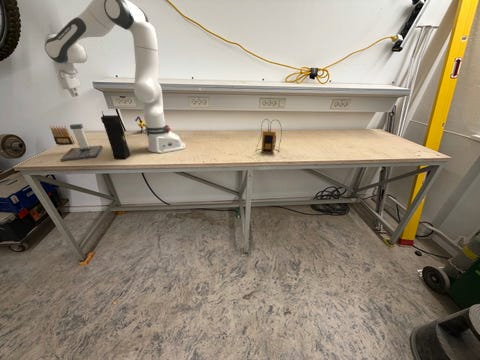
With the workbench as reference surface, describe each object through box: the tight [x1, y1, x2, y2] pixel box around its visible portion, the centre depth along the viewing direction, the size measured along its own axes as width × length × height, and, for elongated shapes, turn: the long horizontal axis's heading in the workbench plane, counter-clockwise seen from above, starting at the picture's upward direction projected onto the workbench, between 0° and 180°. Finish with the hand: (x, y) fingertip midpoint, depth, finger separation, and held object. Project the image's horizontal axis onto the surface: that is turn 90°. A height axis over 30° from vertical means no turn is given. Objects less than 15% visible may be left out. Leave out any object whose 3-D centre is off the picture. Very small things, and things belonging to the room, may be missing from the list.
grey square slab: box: [59, 144, 104, 163], centre depth 114 cm, size 16×18×2 cm
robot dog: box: [134, 115, 146, 134], centre depth 151 cm, size 6×18×13 cm, turn 176°
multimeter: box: [255, 118, 283, 154], centre depth 118 cm, size 15×10×20 cm
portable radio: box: [100, 111, 131, 160], centre depth 105 cm, size 8×6×25 cm
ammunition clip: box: [49, 125, 75, 146], centre depth 126 cm, size 11×2×12 cm, turn 91°
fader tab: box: [69, 123, 92, 150], centre depth 114 cm, size 5×4×14 cm
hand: (75, 96), depth 117 cm, fingers open, 3 cm apart
